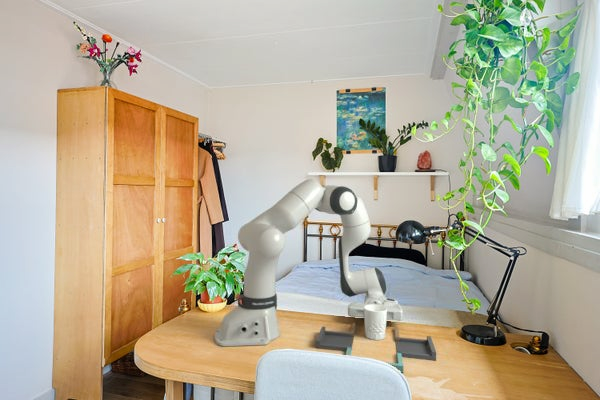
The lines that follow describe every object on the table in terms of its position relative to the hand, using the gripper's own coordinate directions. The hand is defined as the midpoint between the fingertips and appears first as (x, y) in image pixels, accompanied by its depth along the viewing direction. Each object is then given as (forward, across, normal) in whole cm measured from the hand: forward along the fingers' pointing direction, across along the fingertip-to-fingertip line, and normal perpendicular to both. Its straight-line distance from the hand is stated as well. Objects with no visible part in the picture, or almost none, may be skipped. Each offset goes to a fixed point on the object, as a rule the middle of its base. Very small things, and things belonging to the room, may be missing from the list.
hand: (374, 318), depth 129 cm
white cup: (+4, 0, +5) cm, 6 cm away
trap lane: (+12, 0, +5) cm, 13 cm away
